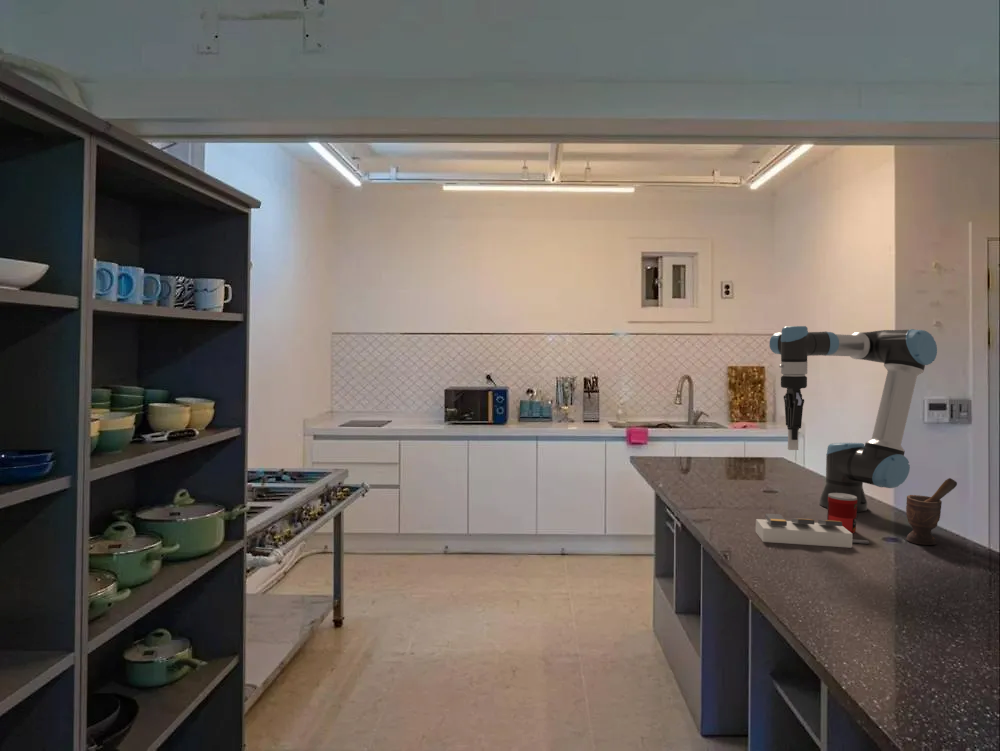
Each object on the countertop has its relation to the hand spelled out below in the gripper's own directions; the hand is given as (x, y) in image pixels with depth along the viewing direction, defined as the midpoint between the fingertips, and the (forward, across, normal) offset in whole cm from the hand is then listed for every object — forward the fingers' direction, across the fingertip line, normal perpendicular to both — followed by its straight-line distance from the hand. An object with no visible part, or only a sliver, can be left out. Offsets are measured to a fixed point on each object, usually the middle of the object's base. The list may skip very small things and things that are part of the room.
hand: (793, 449), depth 201 cm
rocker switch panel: (+24, +15, +1) cm, 29 cm away
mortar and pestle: (+26, +11, +34) cm, 44 cm away
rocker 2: (+19, +15, +6) cm, 25 cm away
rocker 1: (+18, +15, -9) cm, 25 cm away
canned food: (+25, +3, +14) cm, 29 cm away
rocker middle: (+19, +15, -2) cm, 24 cm away
